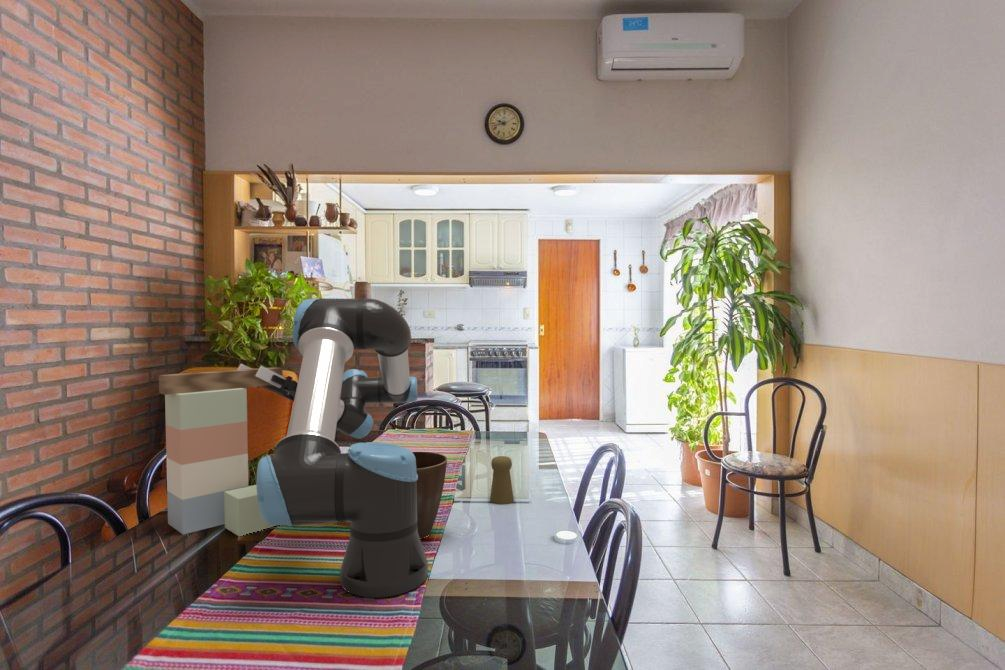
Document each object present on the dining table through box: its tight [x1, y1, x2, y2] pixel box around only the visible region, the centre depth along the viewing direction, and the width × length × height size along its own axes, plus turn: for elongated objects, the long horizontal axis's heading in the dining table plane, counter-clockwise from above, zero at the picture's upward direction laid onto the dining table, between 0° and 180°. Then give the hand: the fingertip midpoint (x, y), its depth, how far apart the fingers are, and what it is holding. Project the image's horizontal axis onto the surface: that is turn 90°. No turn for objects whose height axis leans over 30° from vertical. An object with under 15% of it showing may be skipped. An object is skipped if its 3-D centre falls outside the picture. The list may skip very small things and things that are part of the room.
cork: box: [489, 455, 515, 505], centre depth 142 cm, size 6×6×11 cm
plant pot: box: [411, 451, 448, 539], centre depth 119 cm, size 15×15×16 cm
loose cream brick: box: [224, 484, 276, 537], centre depth 126 cm, size 12×8×8 cm, turn 137°
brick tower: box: [164, 388, 249, 535], centre depth 129 cm, size 14×10×30 cm
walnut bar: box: [158, 367, 284, 396], centre depth 131 cm, size 26×4×4 cm, turn 137°
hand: (248, 369), depth 135 cm, fingers open, 11 cm apart
